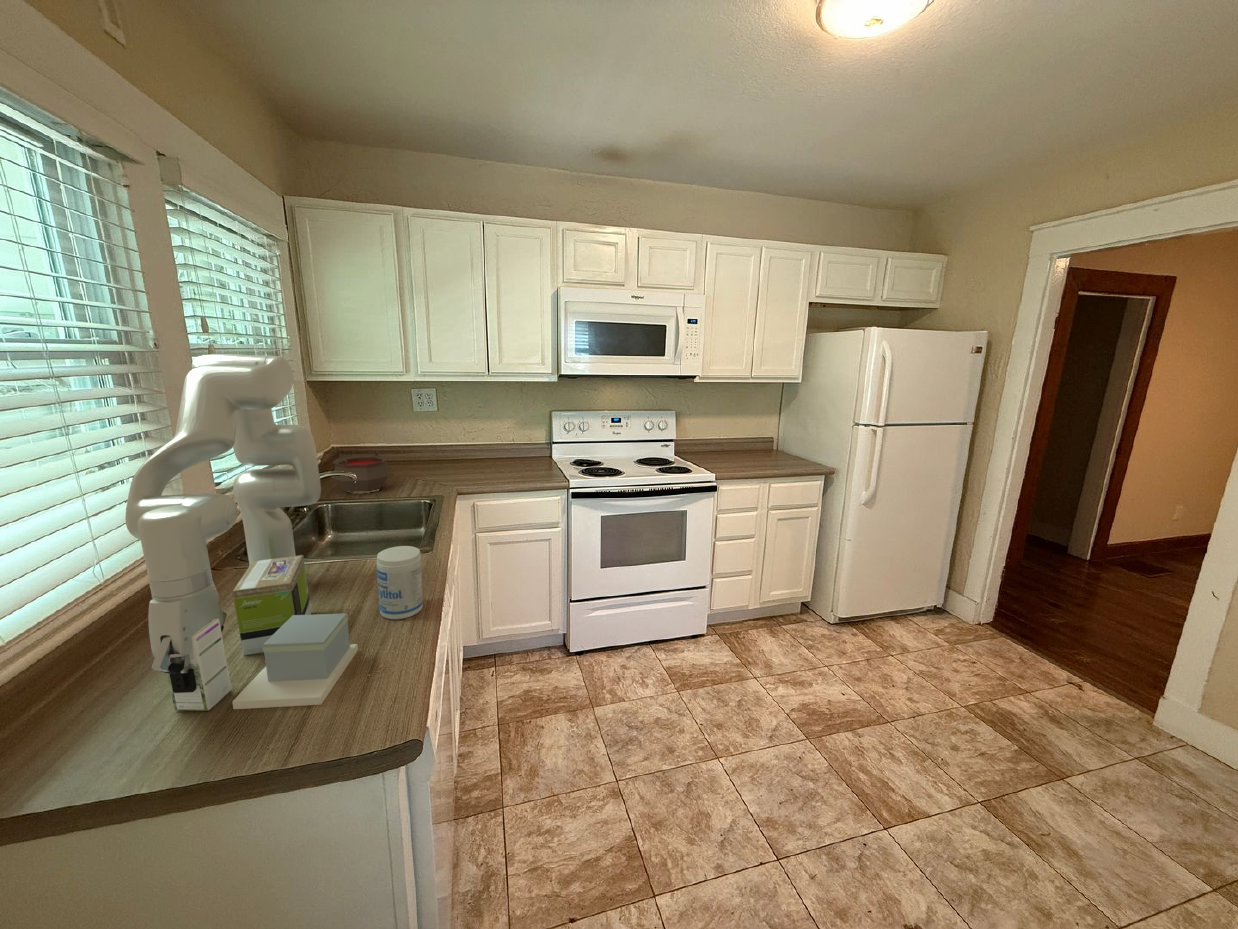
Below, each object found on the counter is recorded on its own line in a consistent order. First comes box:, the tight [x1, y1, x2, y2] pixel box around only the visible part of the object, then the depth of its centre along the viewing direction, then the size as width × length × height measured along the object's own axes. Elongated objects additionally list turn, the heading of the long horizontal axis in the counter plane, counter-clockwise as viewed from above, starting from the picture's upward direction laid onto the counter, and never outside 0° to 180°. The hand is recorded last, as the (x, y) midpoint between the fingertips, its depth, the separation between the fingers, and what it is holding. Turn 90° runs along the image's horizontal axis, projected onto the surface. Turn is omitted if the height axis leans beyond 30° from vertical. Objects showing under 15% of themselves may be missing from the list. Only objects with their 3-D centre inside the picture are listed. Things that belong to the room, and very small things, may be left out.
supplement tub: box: [376, 545, 424, 620], centre depth 115 cm, size 10×10×15 cm
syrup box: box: [166, 619, 233, 712], centre depth 83 cm, size 6×6×14 cm
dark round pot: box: [330, 449, 393, 492], centre depth 212 cm, size 24×24×16 cm
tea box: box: [232, 554, 312, 656], centre depth 104 cm, size 15×10×15 cm
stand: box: [231, 613, 359, 710], centre depth 91 cm, size 16×14×9 cm
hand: (199, 677), depth 84 cm, fingers closed on syrup box, 6 cm apart
